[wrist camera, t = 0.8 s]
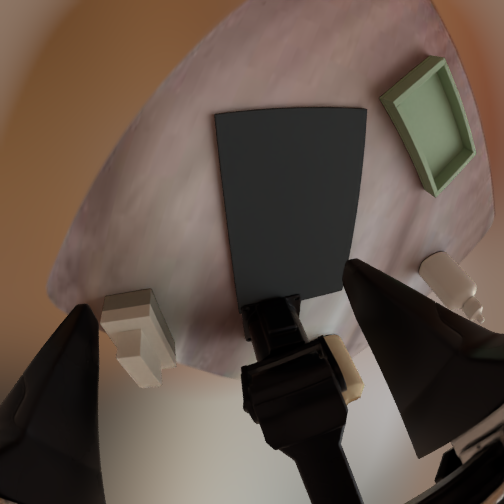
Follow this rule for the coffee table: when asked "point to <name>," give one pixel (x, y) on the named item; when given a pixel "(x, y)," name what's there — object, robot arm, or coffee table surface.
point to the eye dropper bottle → (451, 285)
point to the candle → (346, 368)
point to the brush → (139, 336)
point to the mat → (290, 197)
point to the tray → (431, 123)
